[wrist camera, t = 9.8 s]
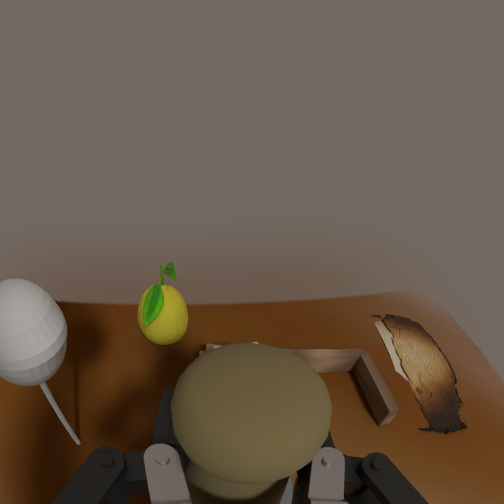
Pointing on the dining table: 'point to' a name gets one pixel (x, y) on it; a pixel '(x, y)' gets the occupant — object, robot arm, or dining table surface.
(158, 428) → the robot arm
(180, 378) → the cork
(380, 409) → the frame
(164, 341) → the lemon
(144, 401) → the dining table surface
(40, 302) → the lollipop
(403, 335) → the parchment
